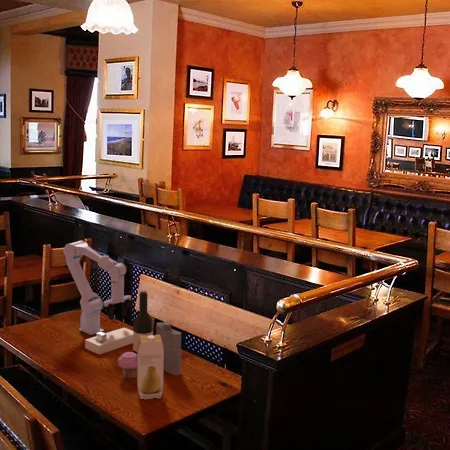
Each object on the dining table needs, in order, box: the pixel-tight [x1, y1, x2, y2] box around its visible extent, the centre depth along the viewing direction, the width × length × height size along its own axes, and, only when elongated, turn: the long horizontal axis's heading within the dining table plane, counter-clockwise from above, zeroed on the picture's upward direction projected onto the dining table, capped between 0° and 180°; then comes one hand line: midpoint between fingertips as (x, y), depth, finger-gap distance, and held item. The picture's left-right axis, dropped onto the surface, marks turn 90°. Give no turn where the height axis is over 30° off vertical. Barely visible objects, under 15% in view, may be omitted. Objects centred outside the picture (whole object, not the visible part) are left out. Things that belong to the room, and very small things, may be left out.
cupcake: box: [117, 351, 137, 380], centre depth 240 cm, size 9×9×10 cm
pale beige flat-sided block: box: [84, 327, 133, 355], centre depth 272 cm, size 10×22×4 cm, turn 139°
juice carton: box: [136, 334, 164, 400], centre depth 223 cm, size 9×8×24 cm
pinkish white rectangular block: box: [95, 331, 107, 343], centre depth 267 cm, size 4×2×7 cm, turn 48°
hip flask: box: [155, 321, 182, 376], centre depth 248 cm, size 16×4×20 cm, turn 39°
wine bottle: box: [132, 290, 154, 354], centre depth 256 cm, size 8×8×30 cm
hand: (117, 317), depth 281 cm, fingers open, 7 cm apart
